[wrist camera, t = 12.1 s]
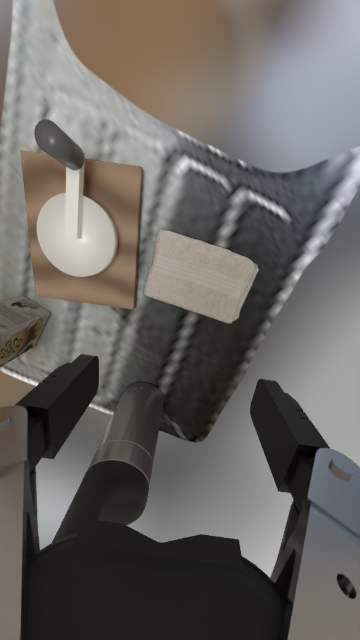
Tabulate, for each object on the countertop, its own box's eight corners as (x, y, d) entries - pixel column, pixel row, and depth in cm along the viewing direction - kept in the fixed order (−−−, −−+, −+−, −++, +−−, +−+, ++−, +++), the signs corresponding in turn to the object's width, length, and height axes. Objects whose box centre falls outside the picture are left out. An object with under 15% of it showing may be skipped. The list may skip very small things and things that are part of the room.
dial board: (135, 307, 38) (132, 309, 37) (41, 294, 38) (34, 296, 37) (143, 170, 31) (140, 166, 30) (27, 154, 31) (19, 149, 30)
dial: (114, 282, 35) (93, 290, 27) (45, 267, 35) (4, 271, 27) (126, 163, 29) (103, 132, 22) (44, 145, 29) (-9, 106, 21)
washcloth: (233, 322, 39) (236, 327, 36) (143, 294, 38) (139, 298, 35) (259, 260, 35) (265, 261, 32) (159, 228, 34) (157, 226, 31)
